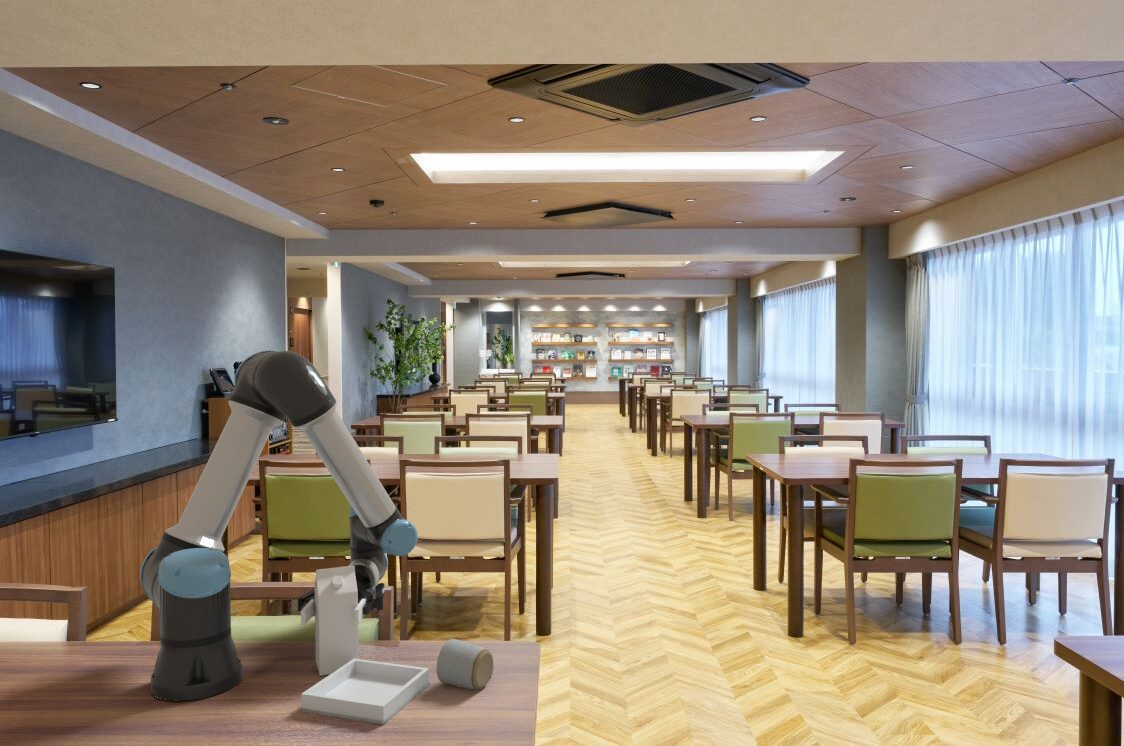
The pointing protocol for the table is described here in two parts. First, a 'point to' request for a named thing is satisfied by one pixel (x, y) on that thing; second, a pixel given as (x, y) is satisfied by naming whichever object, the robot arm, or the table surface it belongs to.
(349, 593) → the milk carton
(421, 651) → the table surface
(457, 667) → the ceramic mug
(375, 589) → the robot arm
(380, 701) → the tray
